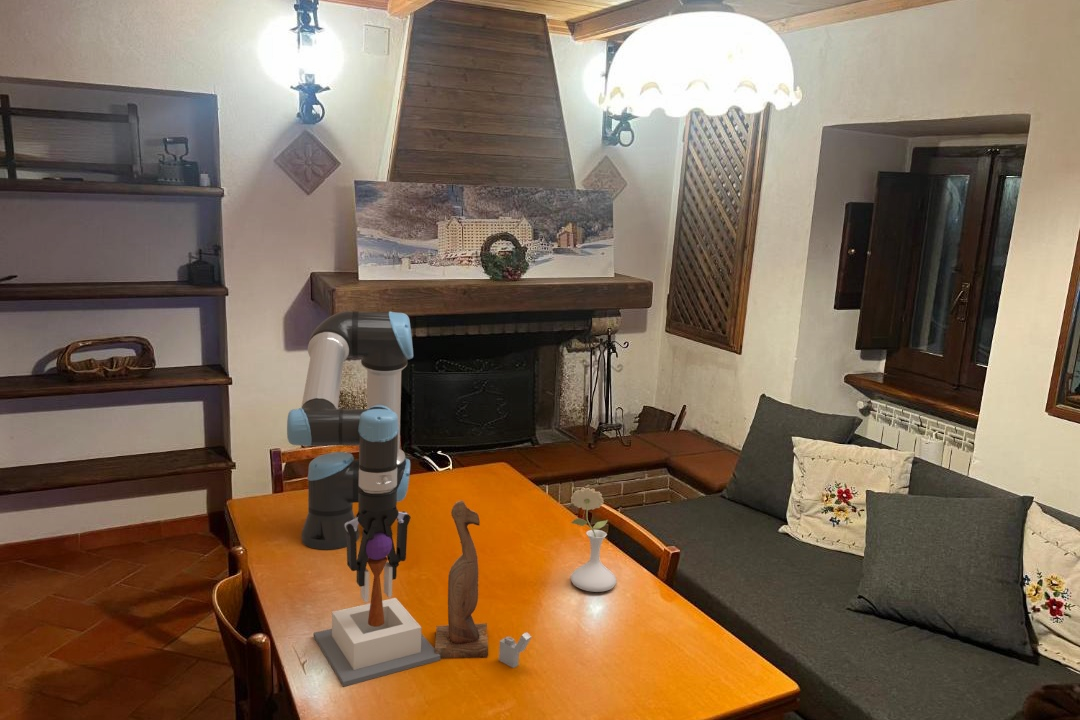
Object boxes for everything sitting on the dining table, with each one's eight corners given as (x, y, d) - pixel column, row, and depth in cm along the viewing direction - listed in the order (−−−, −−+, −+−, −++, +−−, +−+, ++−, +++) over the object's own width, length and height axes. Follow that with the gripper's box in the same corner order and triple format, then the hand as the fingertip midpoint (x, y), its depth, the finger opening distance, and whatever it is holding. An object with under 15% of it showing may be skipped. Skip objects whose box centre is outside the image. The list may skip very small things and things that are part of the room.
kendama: (368, 632, 158) (369, 538, 154) (356, 619, 162) (357, 528, 159) (395, 625, 161) (397, 532, 157) (383, 612, 166) (384, 522, 162)
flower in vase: (622, 582, 198) (629, 487, 194) (606, 600, 188) (613, 501, 184) (574, 570, 204) (580, 478, 199) (556, 588, 194) (562, 491, 189)
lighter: (498, 660, 161) (499, 624, 159) (504, 656, 162) (505, 620, 161) (524, 674, 156) (526, 637, 155) (530, 670, 158) (532, 633, 156)
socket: (313, 637, 166) (313, 608, 165) (402, 616, 176) (403, 589, 175) (343, 686, 149) (343, 655, 148) (440, 660, 160) (441, 630, 159)
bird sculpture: (491, 659, 162) (498, 511, 156) (434, 662, 160) (438, 512, 154) (486, 631, 173) (492, 492, 167) (432, 633, 171) (436, 492, 165)
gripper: (341, 500, 149) (340, 614, 153) (425, 487, 158) (423, 595, 162) (329, 487, 155) (329, 597, 159) (411, 476, 164) (408, 581, 168)
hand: (376, 596), depth 161 cm, fingers closed on kendama, 4 cm apart
